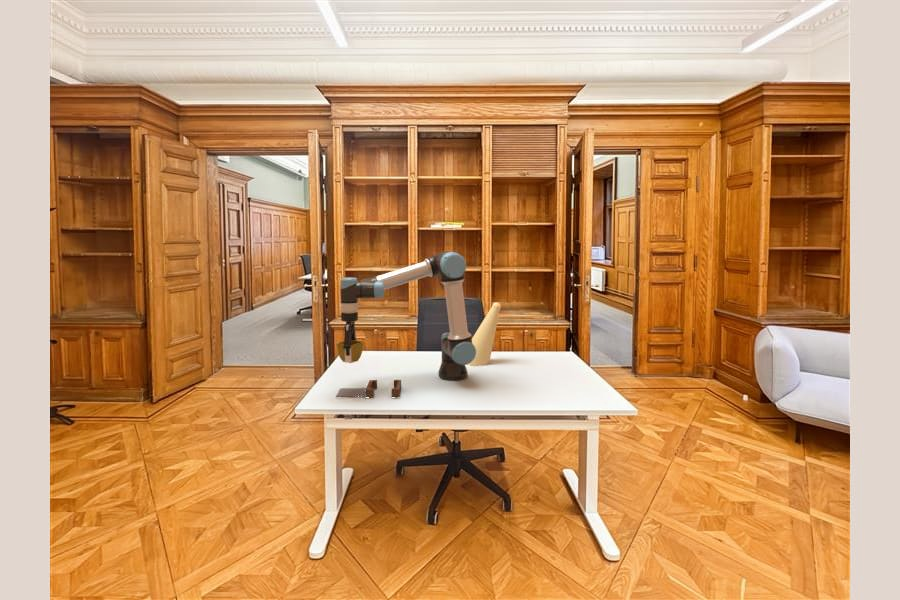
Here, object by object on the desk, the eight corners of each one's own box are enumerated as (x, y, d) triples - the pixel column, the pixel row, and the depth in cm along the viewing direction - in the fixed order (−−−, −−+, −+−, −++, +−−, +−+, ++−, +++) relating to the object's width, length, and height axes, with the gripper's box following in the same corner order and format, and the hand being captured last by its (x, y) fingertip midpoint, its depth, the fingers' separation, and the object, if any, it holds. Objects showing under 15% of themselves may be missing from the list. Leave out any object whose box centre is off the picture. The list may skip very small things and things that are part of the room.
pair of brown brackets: (401, 387, 238) (401, 379, 238) (399, 397, 224) (399, 389, 223) (369, 388, 238) (369, 380, 237) (365, 398, 223) (365, 389, 222)
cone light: (455, 365, 280) (455, 303, 276) (460, 357, 298) (460, 299, 294) (498, 367, 276) (499, 304, 272) (501, 359, 294) (502, 300, 289)
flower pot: (364, 360, 230) (363, 341, 229) (351, 365, 222) (350, 345, 221) (349, 358, 234) (349, 339, 233) (336, 362, 227) (336, 343, 226)
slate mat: (366, 389, 236) (366, 388, 236) (362, 397, 224) (362, 396, 224) (340, 389, 236) (340, 388, 236) (335, 397, 224) (335, 396, 224)
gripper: (345, 308, 237) (346, 353, 240) (336, 316, 213) (337, 365, 216) (361, 308, 237) (362, 353, 240) (353, 316, 214) (354, 365, 216)
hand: (350, 359), depth 228 cm, fingers closed on flower pot, 11 cm apart
